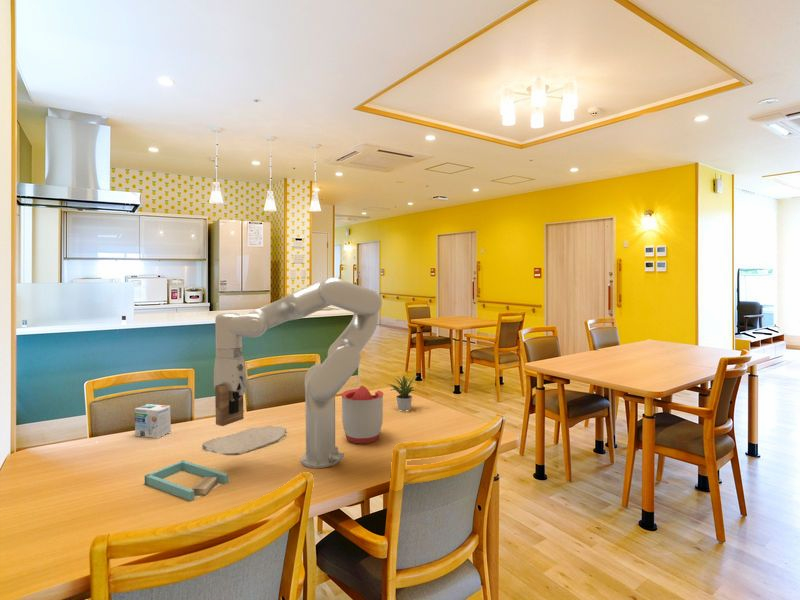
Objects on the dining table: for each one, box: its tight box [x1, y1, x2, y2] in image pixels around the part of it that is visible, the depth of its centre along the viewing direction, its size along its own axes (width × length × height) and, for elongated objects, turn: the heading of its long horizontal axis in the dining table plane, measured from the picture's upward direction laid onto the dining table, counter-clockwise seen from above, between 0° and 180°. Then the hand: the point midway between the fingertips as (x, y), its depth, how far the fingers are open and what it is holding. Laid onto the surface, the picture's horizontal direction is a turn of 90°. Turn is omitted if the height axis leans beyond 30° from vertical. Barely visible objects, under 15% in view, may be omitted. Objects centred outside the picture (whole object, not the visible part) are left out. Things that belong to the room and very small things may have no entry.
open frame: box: [144, 459, 229, 502], centre depth 127 cm, size 20×12×4 cm, turn 61°
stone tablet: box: [201, 425, 287, 456], centre depth 161 cm, size 16×30×2 cm, turn 136°
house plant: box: [387, 374, 419, 411], centre depth 201 cm, size 14×14×16 cm
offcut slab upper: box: [191, 477, 218, 496], centre depth 123 cm, size 4×7×2 cm, turn 177°
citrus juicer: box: [340, 385, 384, 445], centre depth 165 cm, size 16×17×20 cm
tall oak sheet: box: [214, 384, 245, 427], centre depth 137 cm, size 3×8×12 cm, turn 151°
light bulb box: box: [134, 403, 172, 439], centre depth 168 cm, size 11×7×11 cm, turn 76°
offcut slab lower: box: [194, 483, 222, 498], centre depth 123 cm, size 4×8×2 cm, turn 158°
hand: (229, 411), depth 137 cm, fingers closed on tall oak sheet, 3 cm apart
